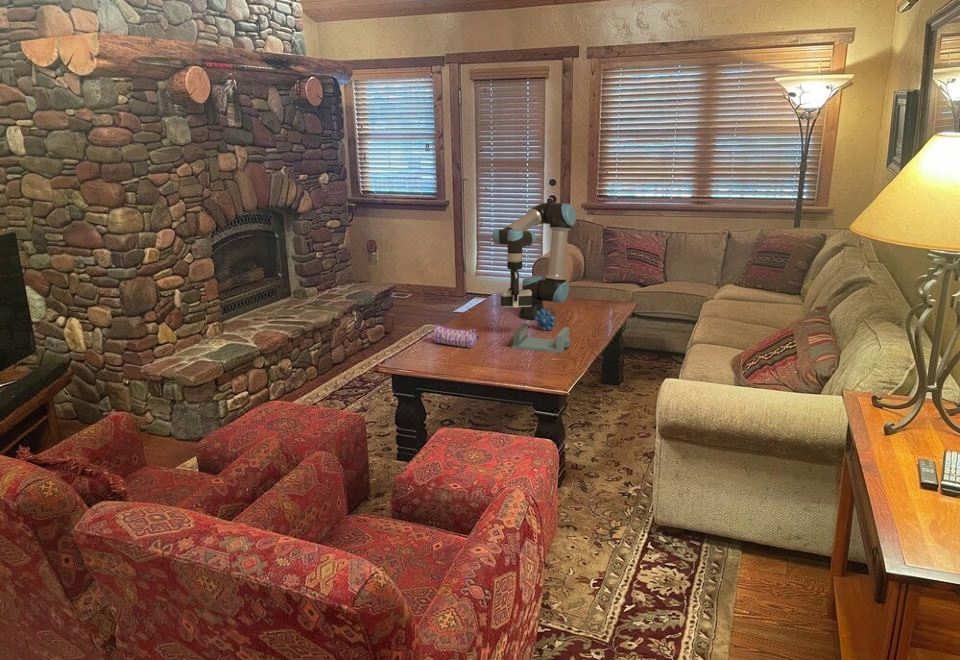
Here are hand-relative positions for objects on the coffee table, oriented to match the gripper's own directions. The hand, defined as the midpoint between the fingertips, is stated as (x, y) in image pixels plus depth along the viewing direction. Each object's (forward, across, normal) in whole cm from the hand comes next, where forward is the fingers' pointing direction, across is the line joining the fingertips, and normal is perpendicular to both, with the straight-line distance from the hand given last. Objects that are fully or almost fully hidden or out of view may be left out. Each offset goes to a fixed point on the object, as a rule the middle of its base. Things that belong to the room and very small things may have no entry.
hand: (514, 304), depth 357 cm
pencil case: (+18, +8, -30) cm, 36 cm away
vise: (+18, +14, +12) cm, 25 cm away
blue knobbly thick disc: (+18, -12, +18) cm, 28 cm away
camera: (0, 0, +1) cm, 1 cm away
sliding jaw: (+16, +7, +4) cm, 18 cm away
